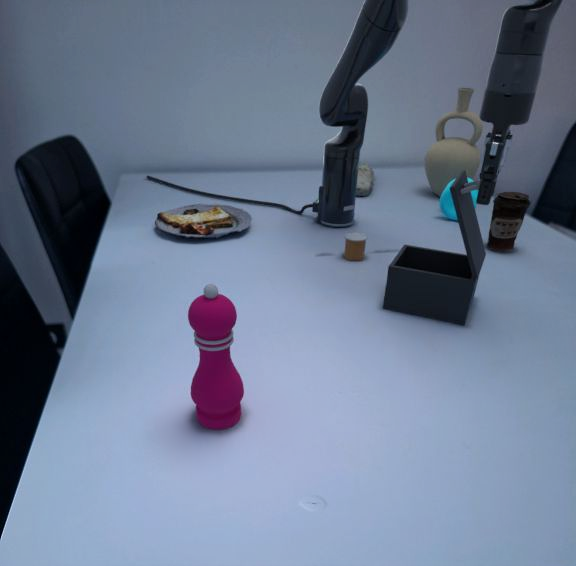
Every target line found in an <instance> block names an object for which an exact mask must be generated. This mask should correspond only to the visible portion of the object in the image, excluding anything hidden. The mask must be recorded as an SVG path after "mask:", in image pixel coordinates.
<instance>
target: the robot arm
mask: <svg viewBox="0 0 576 566" xmlns="http://www.w3.org/2000/svg"><path fill="white" fill-rule="evenodd" d="M563 1H564V0H526V1H525V2H522V3H518V4H514V5H511V6H509V7H507V8H506V10H505V11H504V12H503V15H502V18H501V20H500V25H499V31H498V35H497V39H496V44H495V49H494V54H493V57H492V60H491V63H490V66H489V68H488V73H487V78H486V83H485V88H484V92H483V97H482V101H481V106H480V111H479V115H478V116H479V118H480V119H481V121H482V122H483V123H484V122H485V123H489V124H490V123H491V124H492V130H491V131H489V132H487V134H486V135H485V138H484V141H483V145H484V149H483V153H482V157H481V159H480V164H481V170H480V173H479V176H478V177H479V178H480V180H481V182H480V186H479V191H478V195H477V199H476V203H477V205H480V206H481V205H482V206H488V205H490V203H491V200H492V197H493V195H494V194H495V189H496V187H497V181H498V177H499V175H500V173H501V172H502V168H503V166H504V163H505V162H506V159H507V156H508V152H509V149H510V147H511V144H512V141H513V136H514V134H511V129H510V128H511V126H521V125H522V126H523V125H526V124H528V122H529V120H530V117H531V114H532V113H531V112H532V109H533V105H534V102H535V97H536V94H537V90H538V87H539V82H540V77H541V74H542V69H543V63H544V62H543V61H544V57H545V53H546V49H547V46H548V42H549V41H548V40H549V37H550V32H551V29H552V25H553V22H554V19H555V18H556V15H557V13H558V12H559V9H560V8H561V5H562V4H563ZM408 14H409V0H364V1H363V4H362V6H361V9H360V10H359V13H358V16H357V18H356V21H355V24H354V27H353V29H352V31H351V32H350V33H351V34H350V35H349V38H348V40H347V43H346V45H345V47H344V49H343V52H342V54H341V55H340V58H339V59H338V62H337V63H336V66H335V68H334V69H333V71H332V73H331V75H330V76H329V78H328V80H327V82H326V84H325V86H324V88H323V89H322V92H321V95H320V98H319V102H318V115H319V116H318V117H319V119H320V121H321V123H322V124H323V125H325V126H326V127H332V128H341V129H340V131H339V132H338V133H337V134H336V135H334V137H332V138H330V139H329V140H326V142H325V143H324V145H323V158H322V160H323V161H322V177H321V178H322V179H321V185H320V186H319V187H318V198H317V199H315V200H314V201H313V202H312V203H307V204H305V205H303V206H302V207H301V209H300V210H296V209H293V208H291V207H290V206H288V205H285V204H282V203H277V202H272V201H271V202H270V201H264V200H263V201H262V200H254V199H248V198H241V197H234V196H228V195H223V194H217V193H211V192H206V191H201V190H198V189H193V188H189V187H185V186H181V185H178V184H175V183H173V182H169V181H166V180H163V179H160V178H156V177H153V176H151V175H146V179H148V180H151V181H154V182H157V183H160V184H163V185H166V186H169V187H172V188H174V189H179V190H182V191H186V192H189V193H194V194H197V195H201V196H207V197H211V198H216V199H223V200H228V201H235V202H241V203H247V204H248V203H249V204H254V205H262V206H269V207H277V208H282V209H284V210H287V211H288V212H291V213H293V214H296V215H302V214H304V211H305V210H306V209H309V208H312V211H311V212H312V213H317V217H316V218H317V219H316V222H317V224H321V225H323V226H325V227H331V228H347V227H350V226H353V224H354V223H355V219H354V218H355V210H356V200H357V195H356V190H357V179H358V168H359V162H360V157H361V151H362V148H363V145H364V140H365V134H366V128H367V127H366V126H367V121H368V115H369V114H368V113H369V96H368V91H367V89H366V87H365V85H363V84H361V83H358V82H359V80H360V79H361V78H363V76H364V75H365V74H367V72H369V71H370V70H371V69H372V68H373V67H375V66H376V65H377V63H379V62H380V61H381V60H382V59H383V58H385V56H386V55H387V54H388V53H389V52H390V51H391V50H392V48H393V46H394V44H395V43H396V41H397V39H398V37H399V35H400V33H401V31H402V29H403V27H404V26H405V23H406V21H407V17H408Z"/></svg>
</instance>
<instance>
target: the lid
mask: <svg viewBox="0 0 576 566" xmlns="http://www.w3.org/2000/svg"><path fill="white" fill-rule="evenodd" d="M480 182H481V180H480V177H479V178H478V179H475V180H473V181H472V182H469V183H468V179H467V175H466V171H465V170H464V171H461V172H460V174H459V175H458V177H457V178H456V179H455V181H454V182H453V184H452V185H451V187H450V192H451V196H452V200H453V204H454V207H455V211H456V215H457V219H458V220H457V222H458V226H459V230H460V234H461V238H462V243H463V245H464V250H465V254H466V255H467V257H468V261H469V265H470V269H471V272H472V276H473V279H478V280H479V278H478V277H480V274H481V271H482V268H483V265H484V262H485V259H486V256H487V253H486V249H485V244H484V241H483V236H482V232H481V228H480V225H479V219H478V216H477V212H476V208H475V207H474V203H473V199H472V195H471V191H474V190H478V191H479V186H480Z"/></svg>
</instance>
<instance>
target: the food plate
mask: <svg viewBox="0 0 576 566" xmlns="http://www.w3.org/2000/svg"><path fill="white" fill-rule="evenodd" d="M156 215H157V216H156V219H155V221H154V225H155V227H156V228H157V229H158V231H160V232H163V233H167V234H170V235H172V236H173V237H182V239H184V237H185V238H187V239H188V238H191V237H193V238H194V239H198V238H205V239H214V238H215V239H218V238H220V237H223V236H227V235H229V234H230V233H231V234H232V233H234V232H242V231H244V230H245V229H248V228H249V227H250V226H251V222H252V220H253V218H252V215H251V214H250V213H249V212H248V211H247V210H245V209H243V208H240V207H235V206H233V205H228V204H220V203H219V204H216V203H213V204H205V203H197V204H189V205H185V206H180V207H176V208H172V209H169V210H167V211H163V212H162V211H159V212H158V213H157V214H156Z"/></svg>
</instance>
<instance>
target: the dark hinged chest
mask: <svg viewBox="0 0 576 566" xmlns="http://www.w3.org/2000/svg"><path fill="white" fill-rule="evenodd" d="M387 268H388V269H387V275H386V283H385V290H384V297H383V305H382V309H383V310H387V311H392V312H396V313H402V314H406V315H412V316H416V317H422V318H425V319H431V320H435V321H441V322H445V323H450V324H455V325H460V326H465V325H466V322H467V319H468V317H469V312H470V310H471V308H472V305H473V301H474V298H475V293H476V290H477V286H478V282H479V277H480V276H479V277H478V279H473V276H472V272H471V269H470V265H469V261H468V257H467V254H466V253H458V252H453V251H447V250H441V249H434V248H429V247H422V246H418V245H417V246H416V245H410V244H403V246H402V247H401V248H400V249H399V251H398V252H397V254H396V255H395V257H394V258H393V260H392V261H391V262H390V263H389V265H388V267H387Z"/></svg>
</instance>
